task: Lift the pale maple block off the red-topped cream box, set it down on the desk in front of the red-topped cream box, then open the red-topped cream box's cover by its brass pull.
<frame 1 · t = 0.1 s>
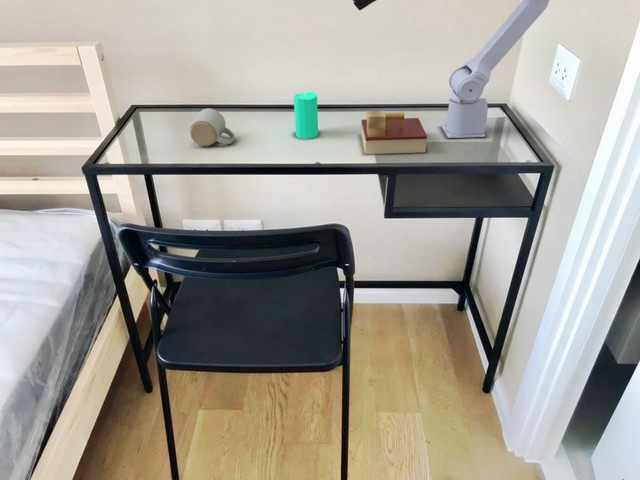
hand: (354, 3, 122), 32 cm above the table, tool tilted 50°, fingers open, 7 cm apart
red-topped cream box: (392, 143, 134), on the table
ceramic mug: (214, 142, 138), on the table
block: (375, 133, 128), point 4 cm above the table, touching cover
candle: (307, 135, 141), on the table
cover: (393, 121, 130), point 6 cm above the table, hinge at 0.0°, touching block
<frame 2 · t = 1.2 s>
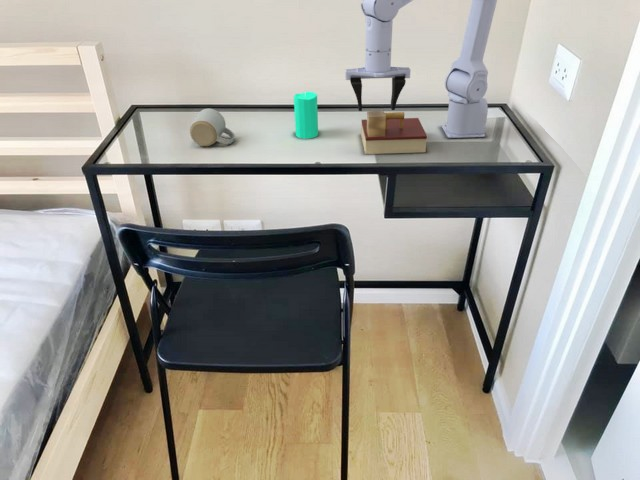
hand: (376, 109, 125), 10 cm above the table, tool pointing down, fingers open, 7 cm apart
nothing on the table moved.
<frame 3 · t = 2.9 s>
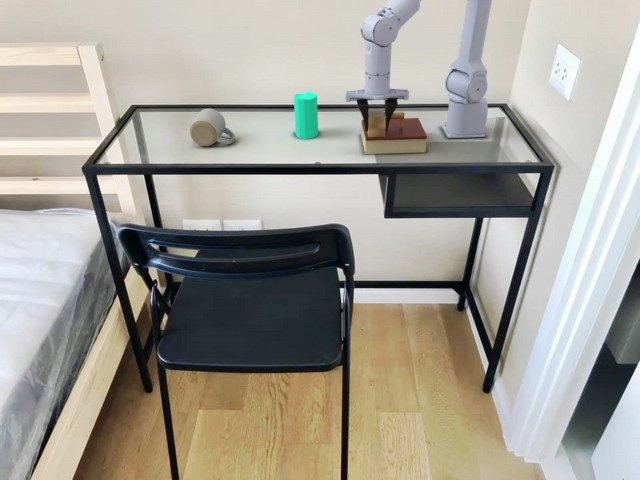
hand: (375, 129, 127), 5 cm above the table, tool pointing down, fingers closed on block, 4 cm apart
block: (375, 133, 128), point 4 cm above the table, touching gripper
cover: (393, 121, 130), point 6 cm above the table, hinge at -0.1°
everything else where it was.
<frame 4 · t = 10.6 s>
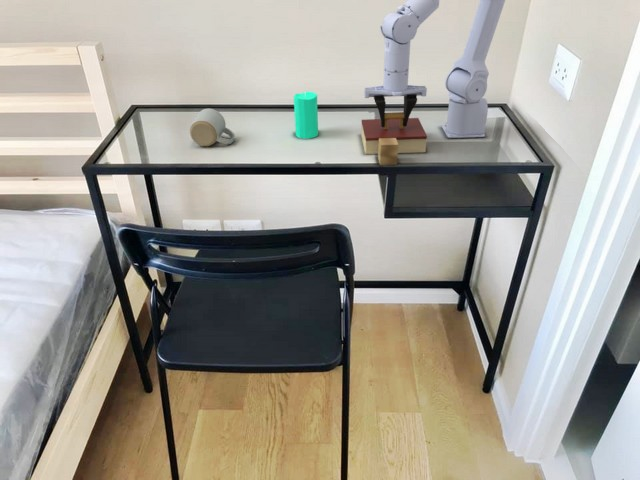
hand: (393, 125, 130), 5 cm above the table, tool pointing down, fingers closed on cover, 5 cm apart
block: (387, 161, 125), on the table
cover: (393, 121, 130), point 6 cm above the table, hinge at -0.1°, touching gripper
everything else where it was.
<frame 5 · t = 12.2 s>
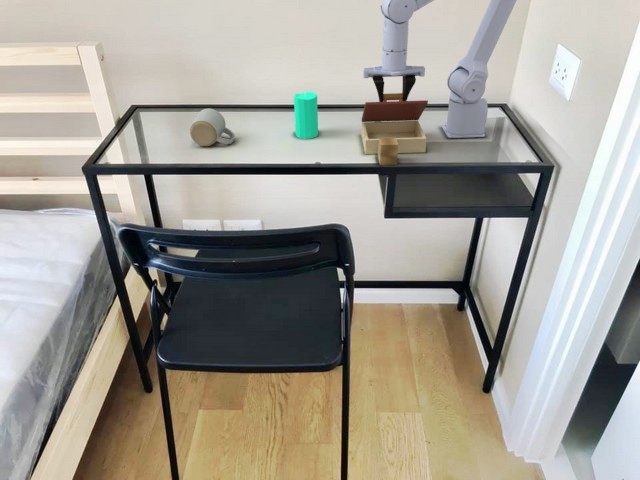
hand: (392, 106, 132), 9 cm above the table, tool pointing down, fingers closed on cover, 5 cm apart
cover: (392, 103, 131), point 9 cm above the table, hinge at 38.2°, touching gripper
everything else where it was.
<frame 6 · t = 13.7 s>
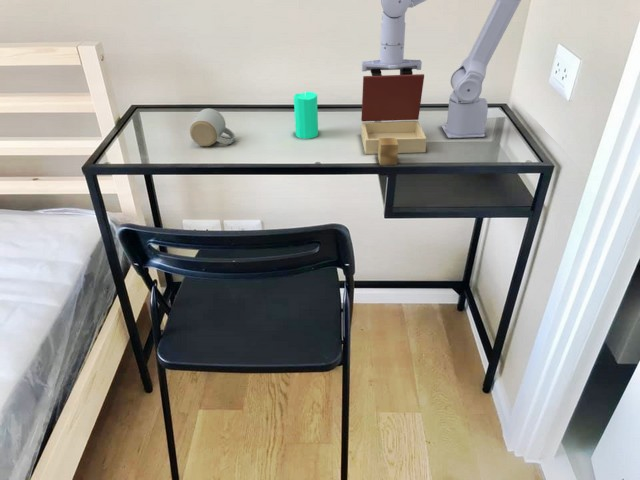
hand: (389, 98, 135), 9 cm above the table, tool pointing down, fingers closed on cover, 5 cm apart
cover: (390, 94, 133), point 11 cm above the table, hinge at 75.1°, touching gripper
everything else where it was.
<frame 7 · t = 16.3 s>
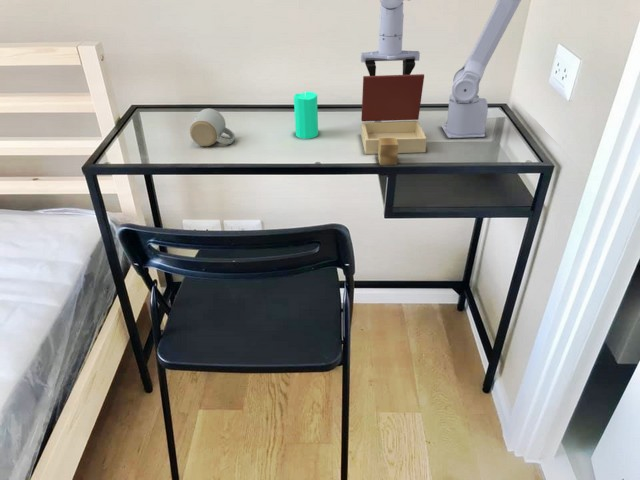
hand: (388, 89, 137), 10 cm above the table, tool pointing down, fingers open, 7 cm apart
cover: (390, 94, 133), point 11 cm above the table, hinge at 75.1°
everything else where it was.
at the end: block inside the target area (0.2 cm from its centre), on the table; block tilted 0°; cover at +75° (first picture: +0°) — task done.
